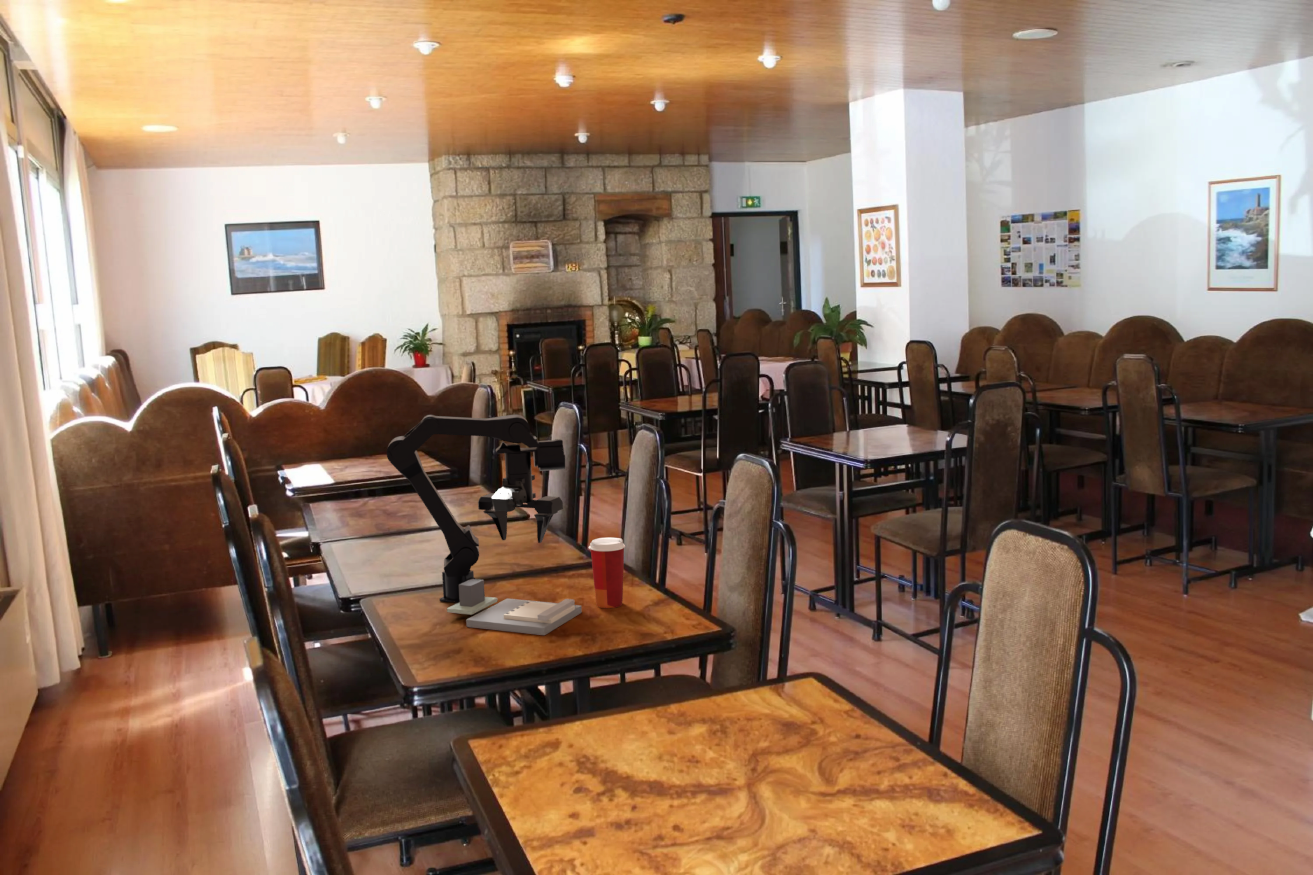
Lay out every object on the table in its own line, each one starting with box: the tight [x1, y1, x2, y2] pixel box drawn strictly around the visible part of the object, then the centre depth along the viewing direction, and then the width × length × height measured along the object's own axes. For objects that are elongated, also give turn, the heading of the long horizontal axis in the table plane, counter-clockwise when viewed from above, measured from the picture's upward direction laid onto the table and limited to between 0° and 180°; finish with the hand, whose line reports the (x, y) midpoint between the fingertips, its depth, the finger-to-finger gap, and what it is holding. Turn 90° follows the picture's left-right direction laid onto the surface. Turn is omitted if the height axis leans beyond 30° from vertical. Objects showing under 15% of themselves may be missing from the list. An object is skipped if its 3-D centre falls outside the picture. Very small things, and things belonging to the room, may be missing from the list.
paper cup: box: [588, 536, 626, 609], centre depth 236 cm, size 8×8×14 cm
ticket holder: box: [465, 597, 582, 636], centre depth 228 cm, size 18×16×3 cm
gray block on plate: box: [446, 578, 498, 616], centre depth 233 cm, size 6×10×5 cm, turn 157°
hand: (521, 541), depth 246 cm, fingers open, 9 cm apart
